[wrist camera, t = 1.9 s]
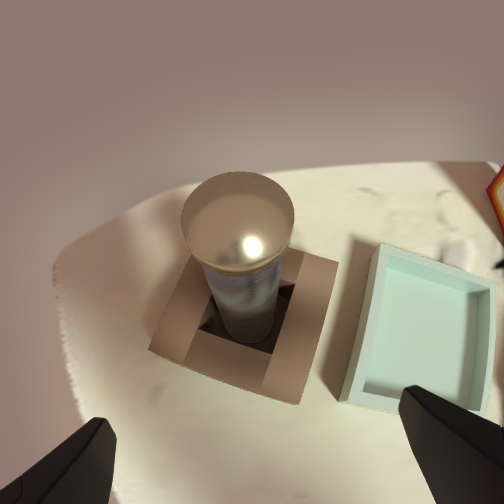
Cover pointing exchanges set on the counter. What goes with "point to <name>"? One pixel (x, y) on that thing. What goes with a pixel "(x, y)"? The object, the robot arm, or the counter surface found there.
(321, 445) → the counter surface
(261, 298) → the pin
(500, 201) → the baking soda box
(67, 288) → the counter surface
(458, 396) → the tray
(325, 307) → the block
